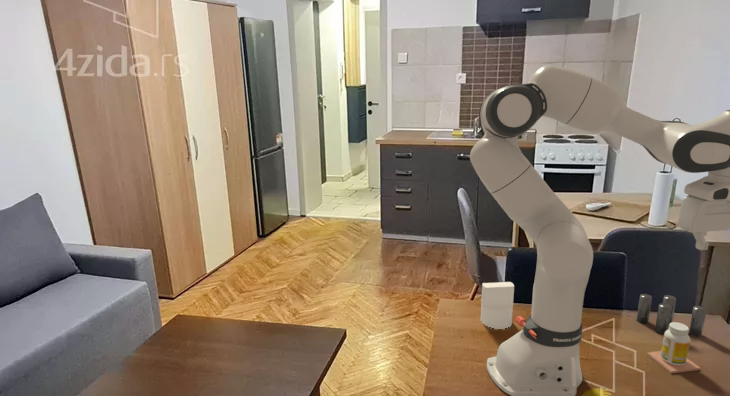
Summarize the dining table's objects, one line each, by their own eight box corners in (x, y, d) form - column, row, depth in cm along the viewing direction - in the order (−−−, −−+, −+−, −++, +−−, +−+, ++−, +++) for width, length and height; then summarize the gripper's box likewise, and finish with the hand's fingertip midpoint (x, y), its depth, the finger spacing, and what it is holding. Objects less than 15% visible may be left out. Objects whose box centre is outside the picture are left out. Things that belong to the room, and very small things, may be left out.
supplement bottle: (656, 359, 116) (662, 325, 113) (665, 351, 119) (670, 318, 116) (681, 369, 112) (687, 334, 109) (689, 360, 115) (695, 326, 112)
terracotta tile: (670, 373, 111) (671, 371, 111) (646, 354, 119) (646, 352, 119) (699, 369, 112) (700, 367, 112) (673, 351, 120) (674, 349, 120)
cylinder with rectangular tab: (505, 313, 141) (507, 277, 138) (516, 328, 132) (519, 291, 129) (476, 314, 141) (478, 278, 137) (485, 330, 132) (487, 292, 129)
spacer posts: (665, 341, 124) (670, 314, 122) (634, 318, 136) (637, 294, 134) (704, 336, 126) (709, 310, 124) (670, 315, 138) (674, 290, 135)
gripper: (759, 181, 102) (747, 239, 106) (677, 186, 99) (668, 245, 103) (788, 187, 96) (774, 248, 100) (702, 193, 93) (691, 256, 97)
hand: (720, 247), depth 101 cm, fingers open, 8 cm apart
